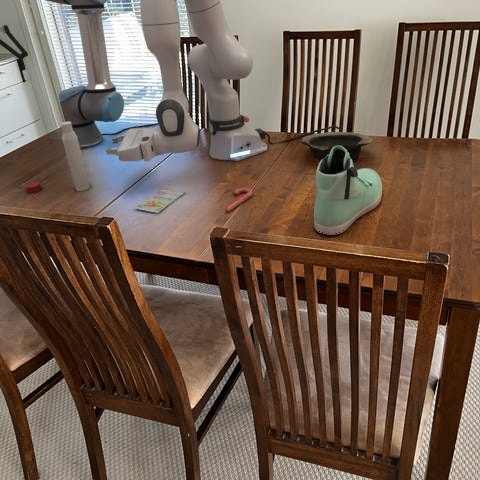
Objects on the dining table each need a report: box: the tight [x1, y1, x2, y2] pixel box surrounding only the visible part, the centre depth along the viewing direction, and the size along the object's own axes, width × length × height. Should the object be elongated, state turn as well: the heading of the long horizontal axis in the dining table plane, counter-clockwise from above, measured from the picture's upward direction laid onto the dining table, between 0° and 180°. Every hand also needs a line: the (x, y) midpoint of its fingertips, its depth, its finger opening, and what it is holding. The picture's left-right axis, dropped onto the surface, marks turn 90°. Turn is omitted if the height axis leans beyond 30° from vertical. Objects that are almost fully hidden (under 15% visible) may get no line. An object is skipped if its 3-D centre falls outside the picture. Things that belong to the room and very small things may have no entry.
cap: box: [25, 181, 42, 194], centre depth 165 cm, size 4×4×2 cm
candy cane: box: [224, 187, 254, 213], centre depth 147 cm, size 6×15×2 cm, turn 145°
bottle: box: [60, 121, 91, 192], centre depth 159 cm, size 5×5×23 cm
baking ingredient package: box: [134, 188, 184, 214], centre depth 151 cm, size 9×1×15 cm
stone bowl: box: [300, 131, 374, 164], centre depth 169 cm, size 25×25×9 cm
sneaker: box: [313, 146, 383, 236], centre depth 133 cm, size 14×35×20 cm, turn 152°
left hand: (0, 85), depth 147 cm, fingers open, 13 cm apart
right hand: (109, 145), depth 157 cm, fingers open, 8 cm apart
